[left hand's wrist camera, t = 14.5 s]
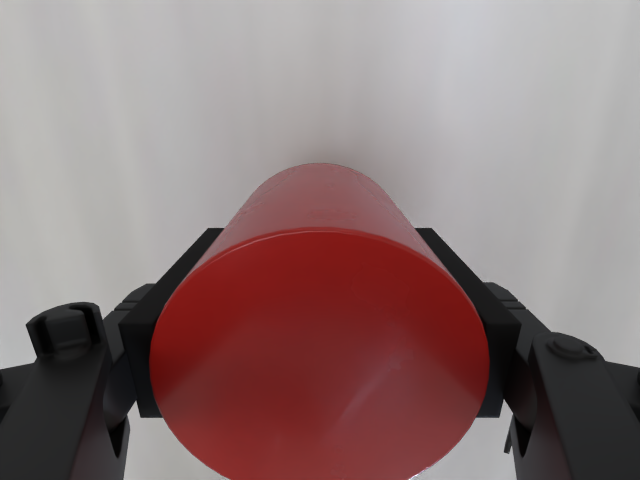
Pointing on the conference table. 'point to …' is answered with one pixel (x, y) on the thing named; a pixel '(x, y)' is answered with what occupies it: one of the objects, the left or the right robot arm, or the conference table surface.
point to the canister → (319, 339)
